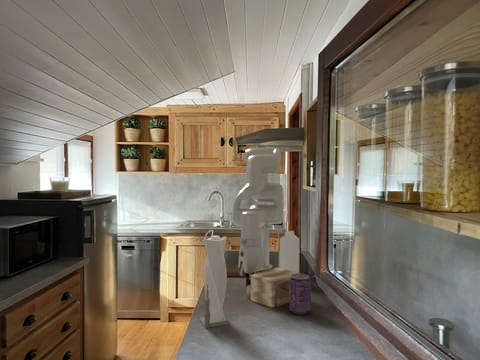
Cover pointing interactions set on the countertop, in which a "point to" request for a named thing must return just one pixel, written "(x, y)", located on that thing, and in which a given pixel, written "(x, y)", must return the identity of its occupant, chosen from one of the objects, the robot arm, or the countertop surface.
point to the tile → (277, 290)
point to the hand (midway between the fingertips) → (250, 288)
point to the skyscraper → (214, 281)
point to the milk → (289, 252)
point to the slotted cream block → (271, 287)
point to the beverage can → (300, 294)
